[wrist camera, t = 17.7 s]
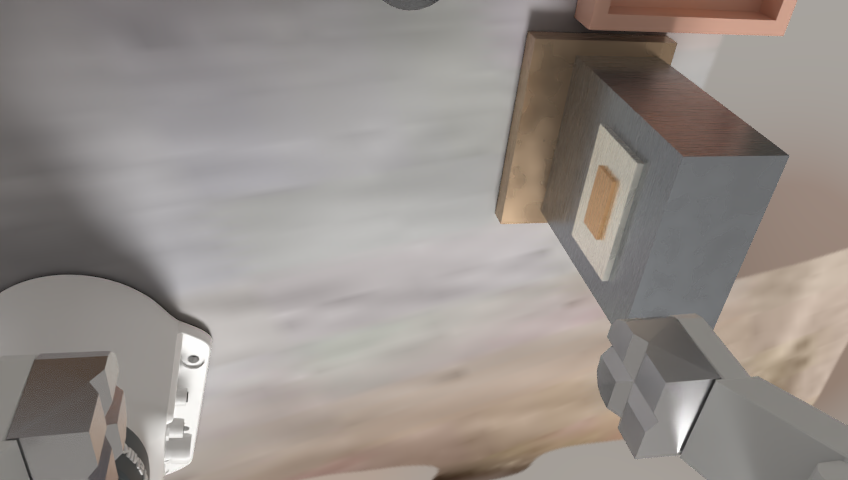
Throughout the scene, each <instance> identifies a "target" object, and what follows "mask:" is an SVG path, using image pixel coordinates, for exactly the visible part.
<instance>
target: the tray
mask: <svg viewBox="0 0 848 480" xmlns="http://www.w3.org/2000/svg"><path fill="white" fill-rule="evenodd" d="M796 2H797V0H578V2H577V6H576V11H575V15H574V18H575V19H577V20H578V21H579V22H580V23H582V24H583V25H584V26H585V27H586V28H588V29H589V30H612V31H642V32H673V33H704V34H736V35H766V36H783V35H784V33H785V31H786V28H787V26H788V23H789V20H790V18H791V15H792V13H793V10H794V8H795V5H796Z"/></svg>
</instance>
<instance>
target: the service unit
mask: <svg viewBox="0 0 848 480" xmlns="http://www.w3.org/2000/svg"><path fill="white" fill-rule="evenodd" d="M676 45H677V43H676V42H675V41H674V40H672V39H671V38H669V37H668V36H664V35H632V34H600V33H568V32H536V31H528V33H527V39H526V45H525V50H524V56H523V61H522V67H521V72H520V78H519V83H518V89H517V95H516V100H515V106H514V111H513V117H512V122H511V128H510V134H509V139H508V145H507V150H506V156H505V161H504V167H503V173H502V178H501V184H500V189H499V195H498V200H497V206H496V212H495V214H496V216H497V218H498V220H499V222H500V223H501V224H518V223H549V225H550V227H551V228H552V230H553V231H554V233H555V235H556V236H557V238H558V239H559V241H560V243H561V244H562V246H563V247H564V249H565V251H566V252H567V254H568V255H569V257H570V259H571V260H572V262H573V263H574V265H575V267H576V268H577V270H578V271H579V273H580V275H581V276H582V278H583V279H584V281H585V283H586V284H587V286H588V287H589V289H590V291H591V292H592V294H593V295H594V297H595V299H596V300H597V302H598V303H599V305H600V307H601V308H602V310H603V312H604V313H605V315H606V316H607V318H608V320H609V321H610V323H611V324H613V323H614V322H615V321H616V319H630V318H644V317H658V316H669V315H680V314H693V313H695V314H697V315H699V316H701V317H702V318H703V319H704V320H705V321H706V322H707V324H708V325H709V326H710V327H711V329H712V330H713V329H714V327H715V324H716V322H717V320H718V318H719V315H720V313H721V311H722V308H723V306H724V304H725V302H726V299H727V297H728V295H729V293H730V290H731V288H732V286H733V283H734V281H735V279H736V277H737V274H738V272H739V270H740V267H741V265H742V263H743V261H744V258H745V256H746V254H747V251H748V249H749V247H750V245H751V242H752V240H753V238H754V235H755V233H756V231H757V229H758V226H759V224H760V222H761V219H762V217H763V215H764V213H765V210H766V208H767V206H768V204H769V201H770V199H771V197H772V194H773V192H774V190H775V188H776V185H777V183H778V181H779V178H780V176H781V174H782V172H783V169H784V167H785V164H786V162H787V160H788V158H789V155H788V154H787V153H785V152H784V151H783V150H781V149H780V148H779V147H777V146H776V145H775V144H773V143H772V142H771V141H770V140H768V139H767V138H766V137H764V136H763V135H762V134H760V133H759V132H758V131H756V130H755V129H754V128H752V127H751V126H750V125H748V124H747V123H746V122H744V121H743V120H742V119H740V118H739V117H738V116H736V115H735V114H734V113H732V112H731V111H730V110H728V109H727V108H726V107H724V106H723V105H722V104H720V103H719V102H718V101H716V100H715V99H714V98H713V97H711V96H710V95H709V94H707V93H706V92H704V91H703V90H702V89H701V88H699V87H698V86H697V85H695V84H694V83H693V82H691V81H690V80H689V79H687V78H686V77H685V76H683V75H682V74H681V73H679V72H678V71H677V70H675V69H674V68H673V67H671V66H670V65H671V62H672V59H673V55H674V52H675V49H676Z"/></svg>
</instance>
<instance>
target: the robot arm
mask: <svg viewBox="0 0 848 480" xmlns="http://www.w3.org/2000/svg"><path fill="white" fill-rule="evenodd" d="M607 337H608V339H609V341H610V342H611V344H612V346H611V347H610V348H609V349H608V350H607V351H606V352H604V353H603V354H602V355H601V357H600V361H599V365H598V368H597V380H598V388H599V391H600V395H601V397H602V399H603V401H604V403H605V405H606V407H607V408H608V409H609V410H611V411H612V412H614V413H615V414H617V415H618V416H619V417H621V418H620V422H619V426H618V429H619V431H620V433H621V435H622V436H623V438H624V440H625V442H626V444H627V445H628V447H629V449H630V451H631V453H632V455H633V456H634V458H635V459H640V458H651V457H664V456H676V455H681V456H680V458H681V459H682V460H683V461H684V462H686V463H687V464H688V465H689V466H691V467H692V468H693V469H695V471H697V472H698V473H699V474H700V475H702V476H703V477H704V478H705V479H706V480H848V425H845V424H844V423H842V422H840V421H839V420H837V419H835V418H833V417H831V416H829V415H827V414H826V413H824V412H822V411H820V410H819V409H817V408H815V407H813V406H811V405H809V404H808V403H806V402H804V401H802V400H800V399H799V398H797V397H795V396H793V395H791V394H789V393H788V392H786V391H784V390H782V389H780V388H779V387H777V386H775V385H773V384H771V383H769V382H768V381H766V380H764V379H762V378H760V377H759V376H758V377H750V376H749V374H748V373H747V372H746V371H745V369H744V368H743V367H742V366H741V364H740V363H739V362H738V361H737V359H736V358H735V357H734V356H733V354H732V353H731V352H730V351H729V350H728V348H727V347H726V346H725V345H724V343H723V342H722V341H721V340H720V338H719V337H718V336H717V335H716V333H715V332H714V331H713V330H712V329H711V327H710V326H709V325H708V324H707V322H706V321H705V320H704V319H703V318H702V317H701V316H699V315H697V314H695V313H693V314H680V315H669V316H658V317H644V318H630V319H616V321H615V322H614V323H613V324H612V325H611V327H610V330H609V333H608V336H607ZM211 348H212V338H211V336H210V335H209V334H208V333H206V332H205V331H203V330H201V329H199V328H197V327H194V326H192V325H189V324H187V323H184V322H181V321H178V320H177V319H175V318H174V317H173V316H171V315H170V314H169V313H168V312H167V311H165V310H164V309H163V308H162V307H161V306H160V305H159V304H157V303H156V302H155V301H154V300H152V299H151V298H149V297H148V296H146V295H144V294H143V293H141V292H139V291H137V290H135V289H133V288H131V287H129V286H126V285H124V284H121V283H118V282H115V281H111V280H108V279H103V278H98V277H92V276H84V275H53V276H45V277H40V278H35V279H31V280H28V281H24V282H21V283H19V284H16V285H14V286H12V287H10V288H8V289H6V290H4V291H2V292H1V293H0V480H164V476H165V475H167V474H170V473H172V472H175V471H177V470H179V469H181V468H183V467H185V466H187V465H188V464H190V463H191V461H192V458H193V454H194V449H195V443H196V438H197V432H198V426H199V420H200V414H201V408H202V402H203V396H204V390H205V384H206V378H207V372H208V366H209V360H210V354H211ZM191 355H196V356H195V357H193V356H191Z"/></svg>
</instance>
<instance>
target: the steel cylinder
mask: <svg viewBox="0 0 848 480" xmlns="http://www.w3.org/2000/svg"><path fill="white" fill-rule="evenodd" d="M383 1H384V2H386V3H387V4H389V5H391V6H393V7H396V8H399V9H403V10H418V9H422V8H426V7H428V6H430V5H432V4H434V3H435V2H437V1H438V0H383Z"/></svg>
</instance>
